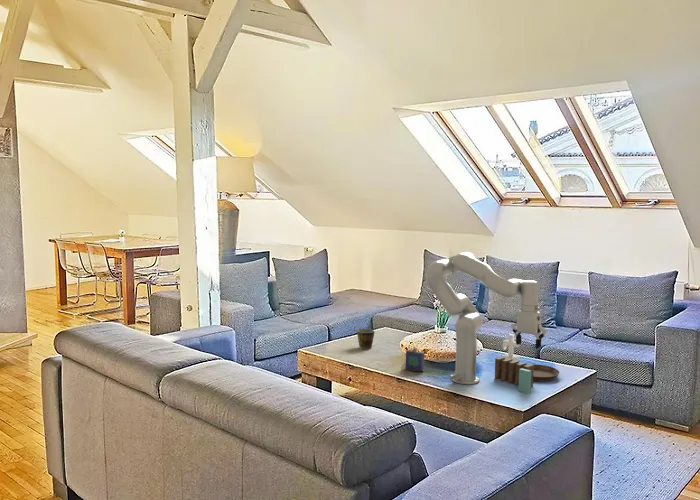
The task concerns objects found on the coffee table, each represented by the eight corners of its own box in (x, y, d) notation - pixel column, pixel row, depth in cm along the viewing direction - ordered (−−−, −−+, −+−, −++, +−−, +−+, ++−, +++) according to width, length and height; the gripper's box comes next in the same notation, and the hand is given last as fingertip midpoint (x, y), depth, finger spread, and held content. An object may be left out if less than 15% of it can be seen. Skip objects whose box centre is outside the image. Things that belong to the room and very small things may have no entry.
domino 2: (511, 380, 301) (512, 359, 300) (504, 381, 297) (505, 361, 297) (507, 379, 302) (508, 358, 301) (501, 380, 299) (502, 360, 298)
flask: (424, 371, 314) (425, 348, 313) (422, 372, 311) (422, 349, 310) (406, 368, 319) (407, 345, 318) (404, 369, 316) (404, 347, 315)
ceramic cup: (361, 345, 365) (361, 328, 364) (377, 347, 361) (377, 330, 360) (351, 350, 354) (351, 332, 353) (367, 352, 349) (367, 334, 348)
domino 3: (518, 382, 298) (519, 361, 297) (511, 383, 294) (512, 362, 293) (514, 381, 299) (515, 360, 298) (508, 382, 296) (509, 362, 295)
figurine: (506, 359, 338) (507, 331, 336) (522, 363, 331) (523, 334, 329) (498, 361, 333) (499, 333, 331) (514, 365, 326) (515, 337, 324)
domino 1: (504, 378, 304) (505, 357, 303) (498, 379, 301) (498, 359, 300) (501, 377, 305) (501, 356, 304) (494, 378, 302) (495, 358, 301)
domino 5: (532, 386, 291) (533, 365, 290) (526, 388, 288) (527, 366, 287) (529, 385, 293) (530, 364, 292) (522, 387, 290) (523, 365, 289)
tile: (527, 393, 281) (528, 371, 280) (518, 390, 284) (519, 369, 284) (530, 392, 282) (531, 370, 281) (521, 389, 286) (521, 368, 285)
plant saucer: (548, 385, 293) (548, 378, 293) (507, 376, 307) (507, 370, 306) (566, 376, 309) (566, 369, 308) (526, 368, 322) (526, 361, 322)
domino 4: (525, 384, 294) (526, 363, 294) (519, 386, 291) (519, 364, 290) (522, 383, 296) (522, 362, 295) (515, 385, 293) (516, 363, 292)
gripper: (551, 309, 278) (550, 347, 279) (516, 304, 290) (515, 341, 292) (542, 311, 273) (541, 350, 274) (507, 306, 285) (506, 344, 287)
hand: (528, 345), depth 283 cm, fingers open, 9 cm apart
